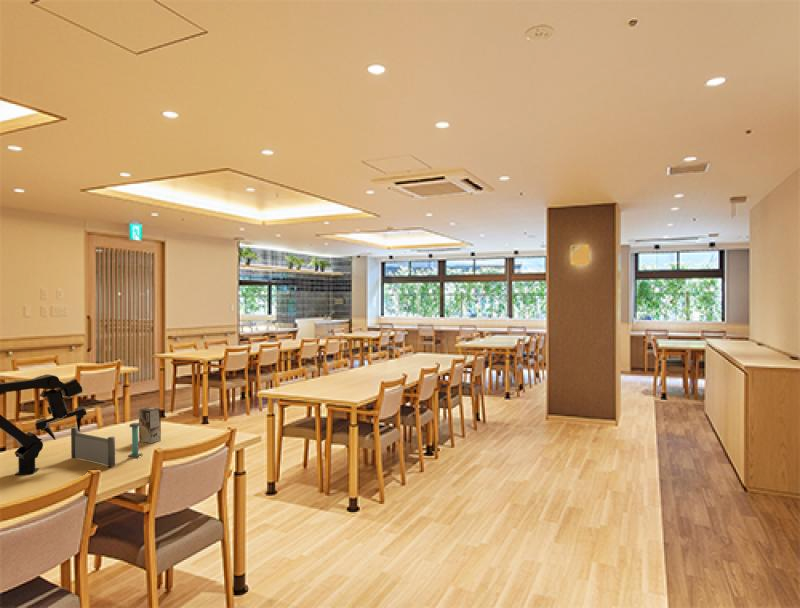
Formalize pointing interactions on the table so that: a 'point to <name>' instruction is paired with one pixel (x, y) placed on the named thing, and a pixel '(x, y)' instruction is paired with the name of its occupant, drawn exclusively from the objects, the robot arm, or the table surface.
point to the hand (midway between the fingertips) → (67, 435)
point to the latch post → (135, 440)
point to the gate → (92, 448)
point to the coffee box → (150, 425)
